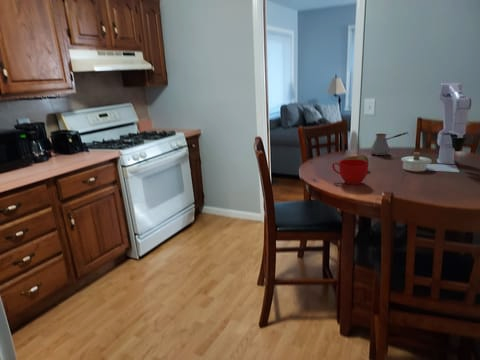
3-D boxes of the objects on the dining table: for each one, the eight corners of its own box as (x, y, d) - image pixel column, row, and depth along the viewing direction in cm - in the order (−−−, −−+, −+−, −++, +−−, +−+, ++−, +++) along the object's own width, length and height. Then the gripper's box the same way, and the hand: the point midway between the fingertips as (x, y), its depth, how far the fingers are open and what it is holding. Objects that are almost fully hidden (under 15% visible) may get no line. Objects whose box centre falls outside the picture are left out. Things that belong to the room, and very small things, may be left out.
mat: (425, 164, 187) (425, 163, 186) (455, 166, 181) (455, 165, 181) (427, 170, 174) (427, 170, 174) (459, 172, 169) (459, 172, 169)
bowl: (402, 165, 186) (403, 157, 184) (425, 167, 181) (426, 159, 180) (402, 171, 176) (403, 162, 175) (426, 172, 172) (427, 163, 170)
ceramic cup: (337, 176, 172) (338, 157, 169) (371, 181, 162) (372, 161, 159) (326, 183, 162) (326, 162, 160) (361, 188, 152) (362, 167, 149)
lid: (401, 157, 186) (402, 149, 185) (430, 158, 180) (431, 150, 179) (401, 163, 174) (402, 155, 173) (432, 164, 168) (433, 156, 167)
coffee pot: (367, 155, 213) (369, 131, 209) (373, 151, 222) (374, 129, 218) (403, 158, 201) (406, 133, 196) (408, 155, 209) (410, 130, 205)
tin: (343, 173, 178) (344, 157, 175) (340, 171, 181) (340, 156, 178) (368, 169, 181) (369, 154, 179) (364, 168, 184) (365, 153, 182)
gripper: (448, 121, 176) (445, 146, 179) (452, 124, 163) (448, 152, 167) (464, 121, 173) (460, 147, 177) (469, 124, 160) (465, 152, 164)
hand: (456, 149), depth 172 cm, fingers open, 7 cm apart
